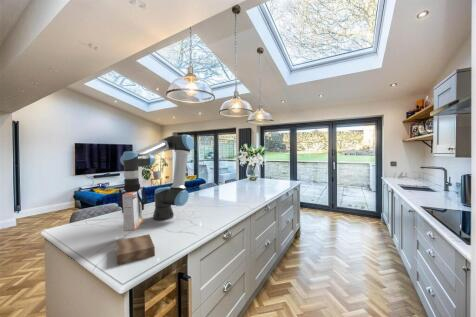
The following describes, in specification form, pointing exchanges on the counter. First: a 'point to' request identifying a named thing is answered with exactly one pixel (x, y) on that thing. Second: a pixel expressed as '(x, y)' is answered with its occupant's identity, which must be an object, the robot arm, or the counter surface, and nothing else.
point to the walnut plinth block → (134, 249)
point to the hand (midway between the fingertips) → (133, 216)
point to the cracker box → (131, 210)
